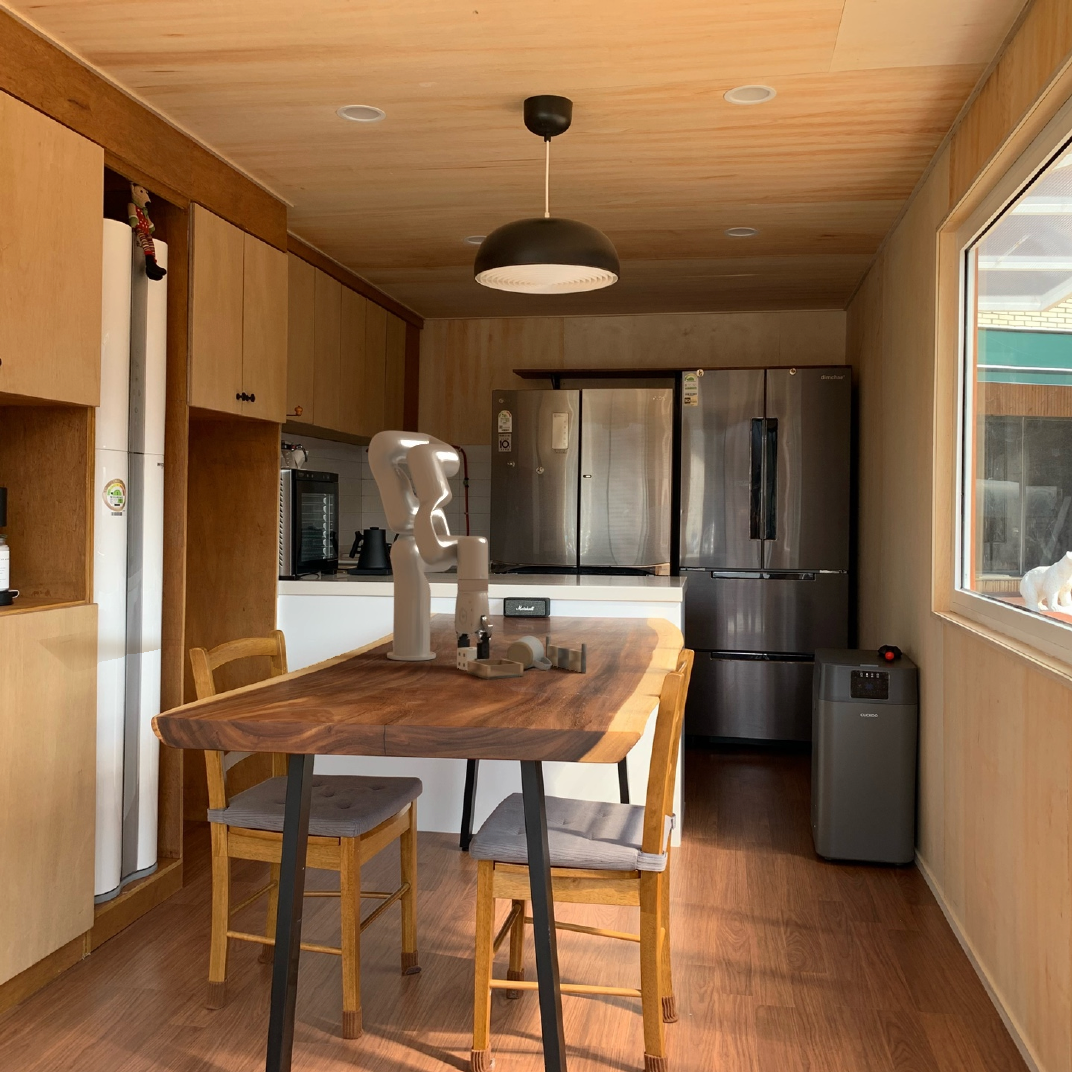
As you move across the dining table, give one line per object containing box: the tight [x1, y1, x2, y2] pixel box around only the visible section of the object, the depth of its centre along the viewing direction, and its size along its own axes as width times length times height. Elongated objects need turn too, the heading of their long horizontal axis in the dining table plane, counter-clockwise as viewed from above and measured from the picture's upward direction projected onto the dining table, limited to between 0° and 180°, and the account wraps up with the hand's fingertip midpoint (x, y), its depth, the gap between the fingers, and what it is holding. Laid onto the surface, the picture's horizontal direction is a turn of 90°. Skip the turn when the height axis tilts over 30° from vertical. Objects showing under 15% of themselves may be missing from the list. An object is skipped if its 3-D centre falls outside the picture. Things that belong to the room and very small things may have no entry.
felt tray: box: [466, 658, 524, 680], centre depth 244 cm, size 10×10×3 cm
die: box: [456, 646, 486, 671], centre depth 254 cm, size 5×5×5 cm
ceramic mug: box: [506, 635, 553, 671], centre depth 256 cm, size 11×8×8 cm
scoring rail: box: [545, 635, 588, 674], centre depth 257 cm, size 17×1×7 cm, turn 32°
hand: (473, 657), depth 253 cm, fingers open, 9 cm apart
